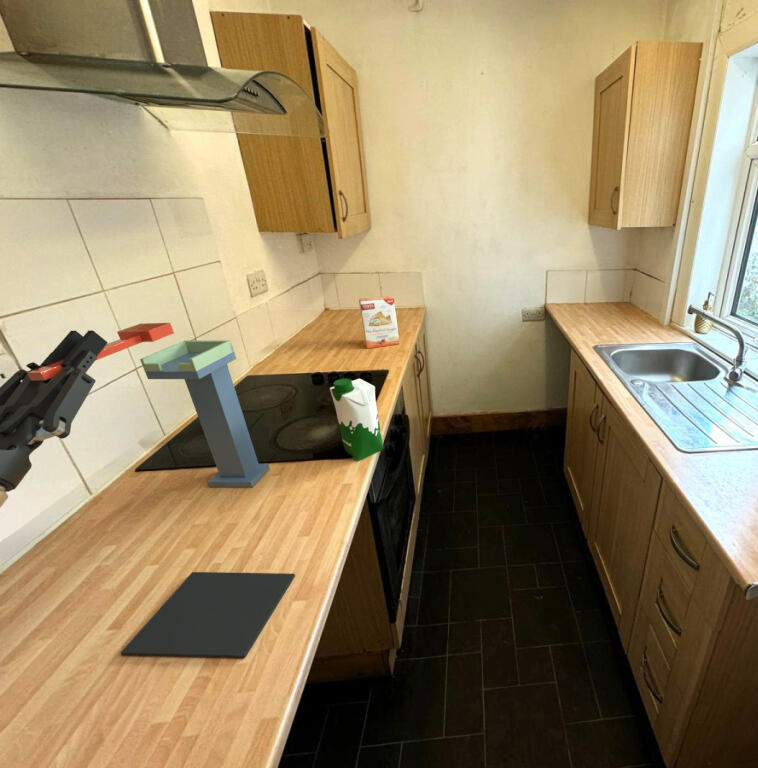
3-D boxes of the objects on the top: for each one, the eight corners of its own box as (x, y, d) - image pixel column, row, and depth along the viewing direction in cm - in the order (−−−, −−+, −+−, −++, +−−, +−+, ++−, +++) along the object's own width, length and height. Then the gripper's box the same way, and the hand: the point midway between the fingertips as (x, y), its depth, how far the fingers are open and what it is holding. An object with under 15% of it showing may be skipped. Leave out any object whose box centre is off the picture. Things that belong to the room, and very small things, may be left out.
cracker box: (367, 349, 179) (359, 301, 171) (365, 345, 184) (357, 298, 176) (400, 344, 184) (394, 297, 176) (397, 340, 189) (391, 295, 181)
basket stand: (196, 499, 90) (139, 359, 77) (229, 468, 100) (184, 340, 87) (241, 499, 90) (192, 358, 76) (270, 469, 100) (230, 340, 87)
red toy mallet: (18, 381, 57) (10, 367, 56) (144, 334, 75) (140, 323, 75) (57, 380, 56) (50, 366, 55) (174, 333, 75) (170, 322, 74)
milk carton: (339, 451, 107) (324, 379, 98) (371, 437, 113) (359, 369, 104) (356, 464, 101) (341, 390, 93) (389, 449, 107) (377, 378, 99)
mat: (121, 655, 59) (119, 652, 59) (193, 574, 72) (192, 571, 72) (245, 658, 58) (243, 655, 58) (295, 576, 71) (294, 573, 71)
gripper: (-56, 494, 53) (64, 352, 66) (58, 495, 52) (155, 352, 66) (-132, 470, 47) (17, 319, 60) (-3, 470, 46) (118, 318, 60)
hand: (89, 336), depth 63 cm, fingers closed on red toy mallet, 2 cm apart
